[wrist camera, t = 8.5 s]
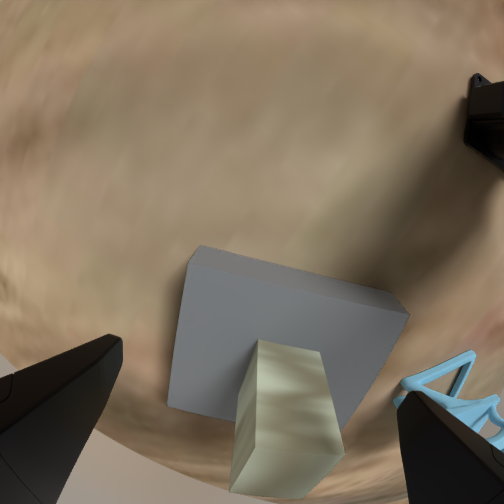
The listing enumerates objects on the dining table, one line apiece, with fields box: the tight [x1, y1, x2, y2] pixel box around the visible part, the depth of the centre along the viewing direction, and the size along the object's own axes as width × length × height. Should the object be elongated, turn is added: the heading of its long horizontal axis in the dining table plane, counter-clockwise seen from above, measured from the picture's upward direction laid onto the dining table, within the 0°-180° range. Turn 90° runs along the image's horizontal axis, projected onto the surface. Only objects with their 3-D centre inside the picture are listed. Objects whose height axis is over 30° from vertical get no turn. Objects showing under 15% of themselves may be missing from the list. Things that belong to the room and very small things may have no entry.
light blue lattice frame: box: [393, 350, 504, 453], centre depth 17 cm, size 8×8×12 cm
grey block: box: [167, 245, 410, 431], centre depth 20 cm, size 14×12×4 cm
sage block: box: [229, 339, 345, 499], centre depth 14 cm, size 4×5×8 cm
